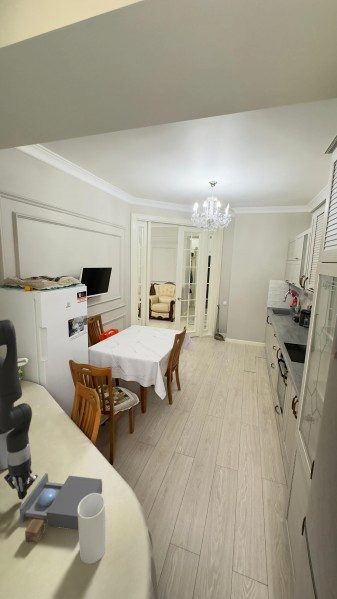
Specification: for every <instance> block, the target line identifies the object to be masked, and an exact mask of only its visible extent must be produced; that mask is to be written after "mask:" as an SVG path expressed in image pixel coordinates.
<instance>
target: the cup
mask: <svg viewBox="0 0 337 599" xmlns="http://www.w3.org/2000/svg"><path fill="white" fill-rule="evenodd" d="M106 519H107V518H106V500H105V498H104V496H103V495H102V493H101V494H98V493H92V494H89V495H87V496H85V497H84V498H83V499H82V500H81V501H80V503H79V505H78V528H79V530H78V540H79V541H78V542H79V557H80V559H81V561H82V562H83V563H85V564H88V565H89V564H90V565H91V564H94V563H96V562H98V561H99V560H100V559H102V558H103V556H104V554H105V552H106V550H107V523H106V522H107V520H106Z"/></svg>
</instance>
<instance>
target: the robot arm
mask: <svg viewBox="0 0 337 599" xmlns="http://www.w3.org/2000/svg"><path fill="white" fill-rule="evenodd" d="M1 346H6V353H5V354H6V355H5V358H3V357H2V356H0V471H3V470H7V474H6V475H5V476H3V479H4V480H5V481H6V482H7V484H8V486H10V488H11V489H12V490H16V492H17V497H18V499H19V500H24V499H25V498H26V497H27V495H28V490H29V488H30V487H31V486H32V485H33V484H34V482H36V480H37V479H38V478H39V476H38V474H33V470H32V468H31V467H32V454H31V453H32V452H31V445H30V439H29V431H30V427H31V422H32V420H33V419H32V418H33V410H32V407H31V405H30V404H28V403H27V402H26V403H25V402H24V403H20V404H17V405H15V402H17V401H18V400H20V399H21V398H22V396H23V390H22V389H23V388H22V385H21V380H20V374H19V365H18V364H19V363H18V361H19V360H18V348H17V347H18V345H17V335H16V329H15V326H14V323H13V322H12V321H11V320H10V319H1V320H0V347H1Z"/></svg>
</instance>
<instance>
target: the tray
mask: <svg viewBox="0 0 337 599" xmlns="http://www.w3.org/2000/svg"><path fill="white" fill-rule="evenodd" d="M63 485H64V483H60V482H59V483H58V482H52V481H51V482H49V473H44V474H43V476H42V477H41V479H40V480H39V482H38V483H37V485H36V486H35V487H34V488H33V490H32V491H31V493H30V494H29V495H28V496H27V497H26V499H25V500H24V501H23V503H22V504H21V506H20V507H19V519H20V522H24V521H25V520H26V518H27V517H28V518H33V519H40V520H47V514H46V512H47V510H48V509H49V507H50V506H48V507H44V508H43V507H40V506H39V503H38V498H39V495H40V494H41V493H42V492H43V491H45V490H47V489H54V490H55V491H56V496H57V494H58V493H59V491H60V489H61V488H62V486H63Z"/></svg>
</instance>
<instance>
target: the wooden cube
mask: <svg viewBox="0 0 337 599" xmlns="http://www.w3.org/2000/svg"><path fill="white" fill-rule="evenodd" d="M44 520H45V519H39V518H33V519H31V521H30V523H29V524H28V526H27V527H26V529H25V530H24V534H25V535H24V536H25V542H26V543H32V544H38V543H39V541H40V539H41V538H42V536H43V534H44V532H45V521H44Z"/></svg>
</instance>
